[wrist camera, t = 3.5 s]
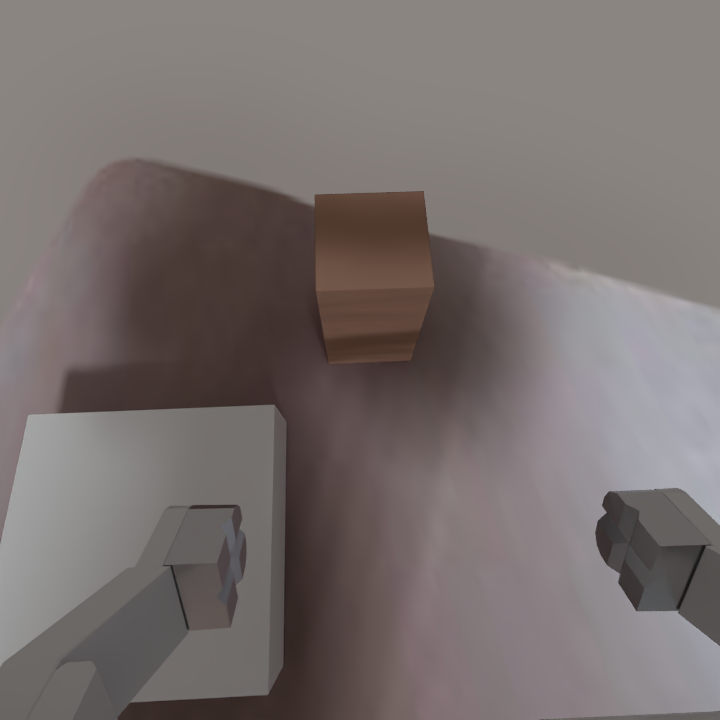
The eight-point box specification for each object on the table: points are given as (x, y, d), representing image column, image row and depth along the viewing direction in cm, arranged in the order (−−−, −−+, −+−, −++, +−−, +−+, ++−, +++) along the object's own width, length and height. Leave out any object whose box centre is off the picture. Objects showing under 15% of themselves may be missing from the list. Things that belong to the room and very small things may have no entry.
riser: (283, 665, 22) (268, 695, 18) (32, 679, 21) (-37, 711, 18) (286, 422, 26) (274, 404, 22) (76, 431, 26) (28, 414, 22)
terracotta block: (410, 360, 27) (434, 286, 19) (328, 363, 27) (315, 291, 19) (404, 288, 29) (423, 191, 21) (327, 291, 29) (314, 194, 20)
